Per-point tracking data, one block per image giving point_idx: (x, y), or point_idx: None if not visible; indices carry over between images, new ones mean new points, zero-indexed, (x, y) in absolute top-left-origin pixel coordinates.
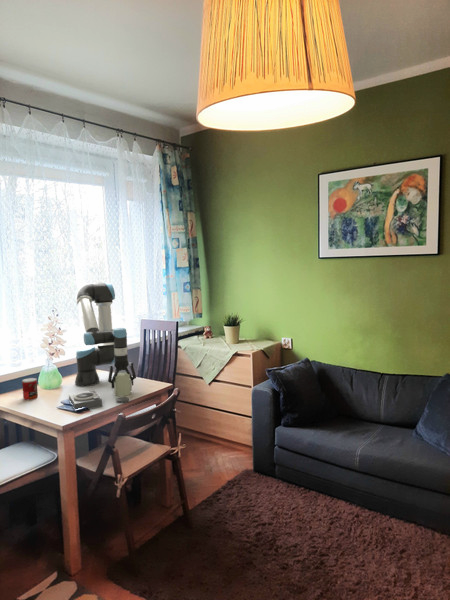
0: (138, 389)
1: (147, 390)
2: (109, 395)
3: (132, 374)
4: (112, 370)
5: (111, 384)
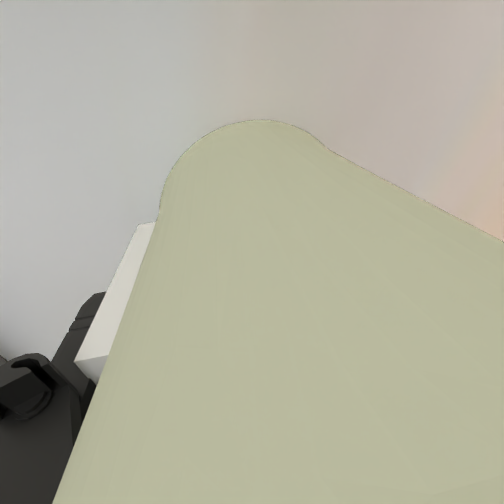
0: (471, 125)
1: (499, 213)
2: (88, 224)
3: None
4: None
5: (59, 354)
